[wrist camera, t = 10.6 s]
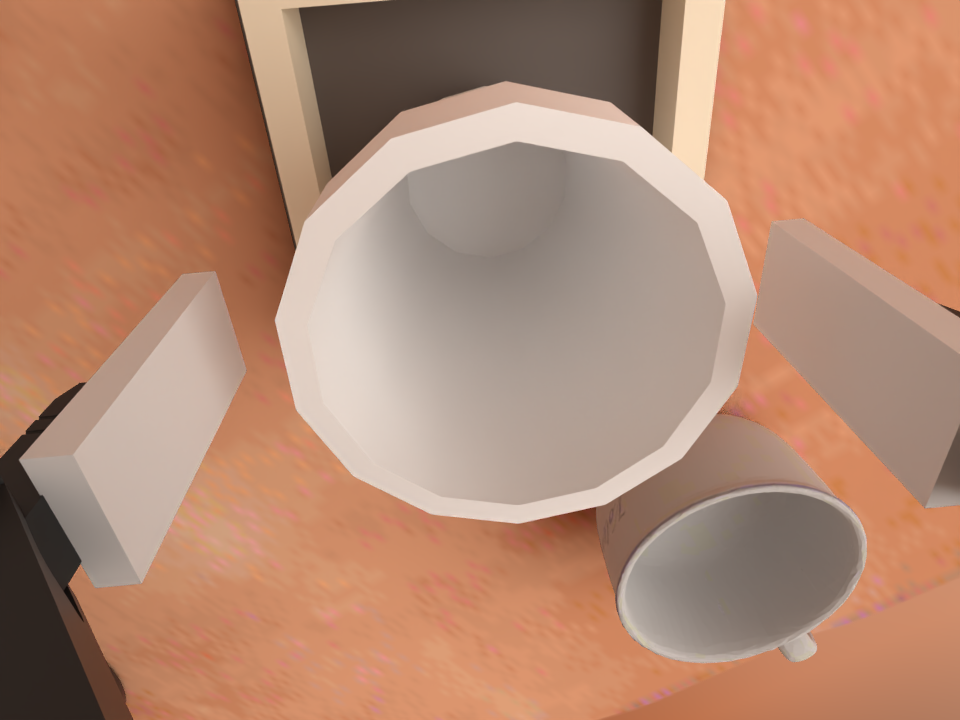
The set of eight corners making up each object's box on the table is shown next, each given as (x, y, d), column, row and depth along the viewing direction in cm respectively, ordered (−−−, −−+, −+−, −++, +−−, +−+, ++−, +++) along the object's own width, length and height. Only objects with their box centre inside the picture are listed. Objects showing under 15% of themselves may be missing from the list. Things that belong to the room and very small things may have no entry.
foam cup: (415, -15, 20) (371, -4, 9) (657, 105, 22) (857, 231, 11) (330, 242, 25) (233, 458, 14) (539, 320, 27) (601, 562, 16)
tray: (328, 355, 29) (314, 400, 26) (231, -61, 20) (192, -68, 17) (673, 327, 29) (700, 369, 26) (720, -102, 20) (767, -116, 17)
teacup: (551, 433, 32) (579, 558, 25) (760, 346, 29) (853, 458, 23) (640, 588, 39) (681, 720, 32) (816, 528, 36) (900, 655, 29)
